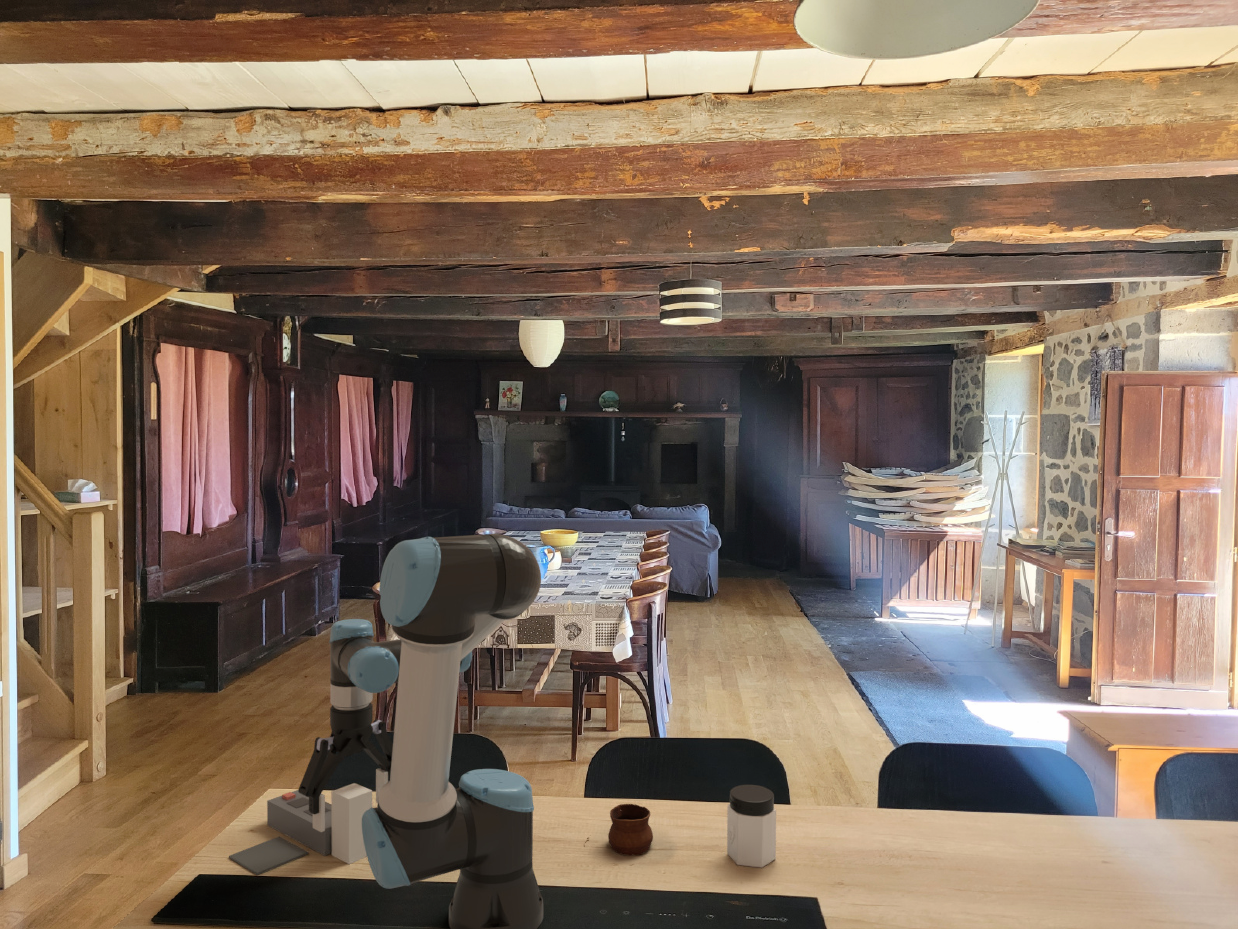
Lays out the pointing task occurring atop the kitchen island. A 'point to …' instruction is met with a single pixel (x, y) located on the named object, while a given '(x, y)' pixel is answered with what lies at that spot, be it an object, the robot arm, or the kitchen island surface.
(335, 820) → the charger
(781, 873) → the kitchen island surface
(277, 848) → the mat
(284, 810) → the power strip
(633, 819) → the ceramic pot
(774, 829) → the jar
